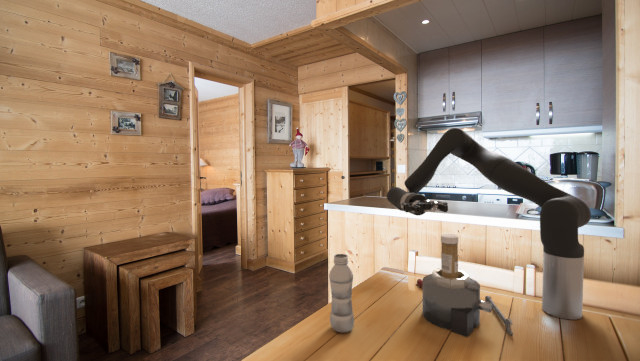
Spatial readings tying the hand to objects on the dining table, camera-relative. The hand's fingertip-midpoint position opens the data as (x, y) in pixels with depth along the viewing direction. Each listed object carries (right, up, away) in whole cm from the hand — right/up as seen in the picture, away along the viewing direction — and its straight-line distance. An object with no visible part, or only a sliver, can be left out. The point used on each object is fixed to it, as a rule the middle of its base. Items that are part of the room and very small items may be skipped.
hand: (433, 209), depth 100 cm
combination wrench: (+15, -30, -10) cm, 35 cm away
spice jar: (+1, -20, -10) cm, 22 cm away
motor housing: (+3, -30, -10) cm, 32 cm away
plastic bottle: (-30, -31, -15) cm, 45 cm away
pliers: (+5, -29, +7) cm, 31 cm away
